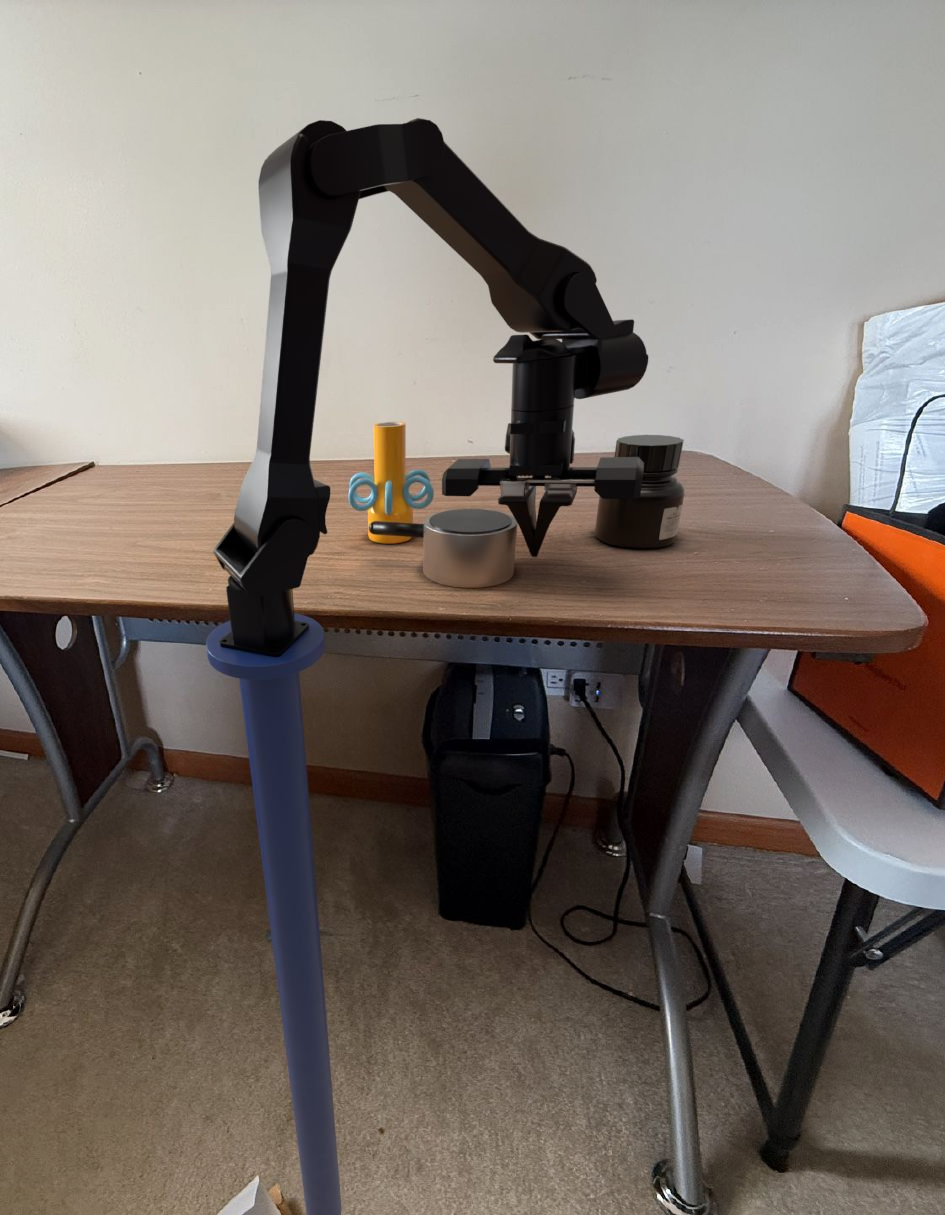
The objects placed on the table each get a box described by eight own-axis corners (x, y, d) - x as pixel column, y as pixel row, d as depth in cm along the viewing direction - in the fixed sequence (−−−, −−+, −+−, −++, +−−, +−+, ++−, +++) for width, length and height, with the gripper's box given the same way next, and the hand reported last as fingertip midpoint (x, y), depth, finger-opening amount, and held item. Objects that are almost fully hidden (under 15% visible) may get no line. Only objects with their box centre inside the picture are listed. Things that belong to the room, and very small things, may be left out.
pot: (519, 559, 74) (523, 509, 71) (506, 592, 66) (510, 536, 63) (382, 549, 81) (381, 502, 78) (355, 577, 73) (354, 526, 70)
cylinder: (369, 557, 79) (366, 435, 72) (333, 535, 88) (328, 426, 81) (451, 539, 82) (455, 422, 76) (408, 520, 91) (409, 414, 85)
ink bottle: (685, 552, 72) (706, 447, 67) (600, 551, 74) (615, 449, 69) (664, 526, 80) (681, 431, 75) (588, 526, 83) (600, 433, 78)
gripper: (652, 388, 63) (635, 535, 70) (466, 399, 72) (466, 528, 78) (650, 407, 54) (631, 572, 61) (439, 416, 63) (441, 560, 70)
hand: (534, 555), depth 68 cm, fingers closed
